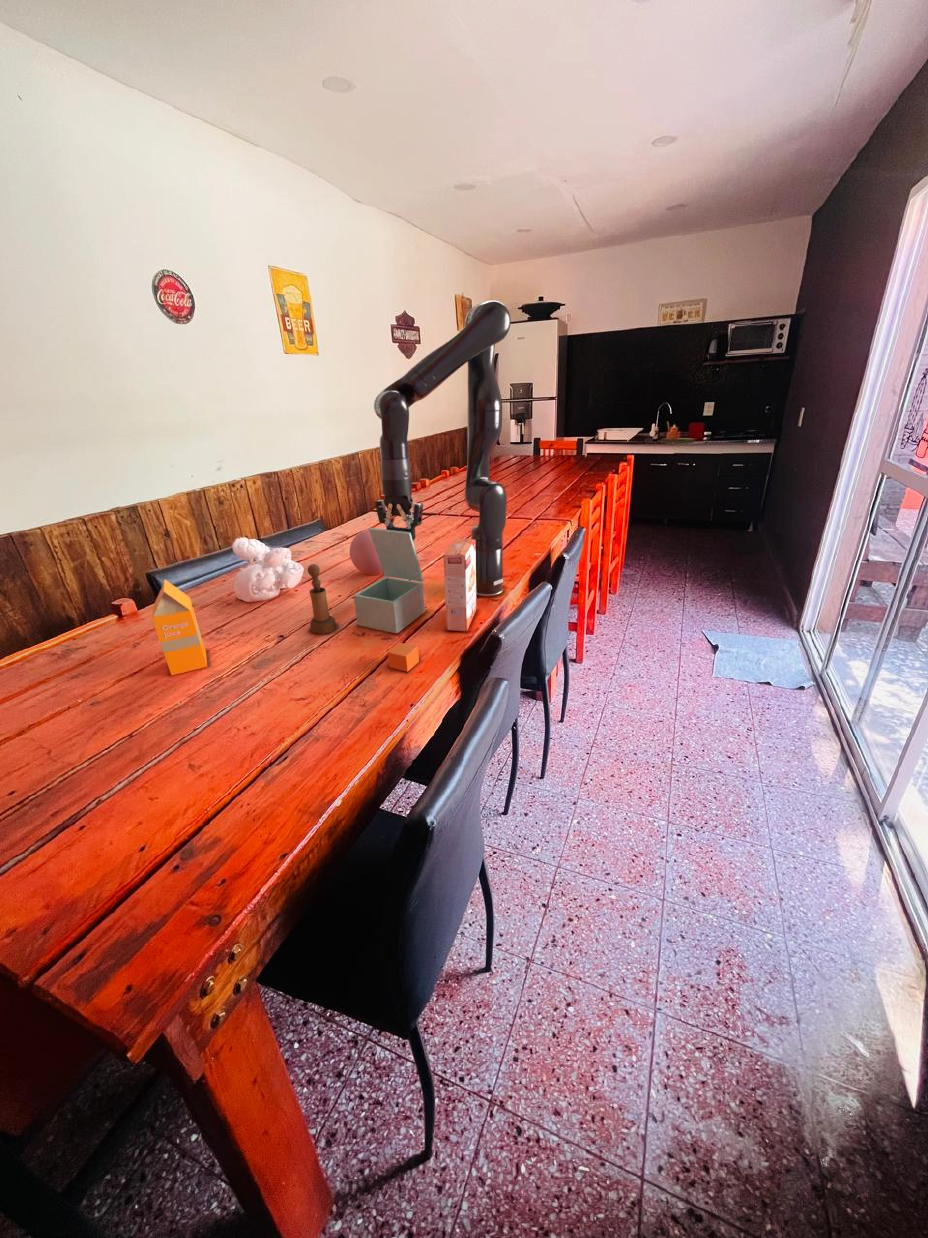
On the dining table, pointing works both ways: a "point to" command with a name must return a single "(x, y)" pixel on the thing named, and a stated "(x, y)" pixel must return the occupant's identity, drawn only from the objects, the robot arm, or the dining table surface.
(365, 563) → the balloon
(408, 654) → the orange block
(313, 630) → the mortar and pestle
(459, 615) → the cracker box
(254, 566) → the white lumpy blob
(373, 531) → the box lid
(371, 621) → the grey storage box
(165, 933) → the dining table surface
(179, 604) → the orange juice
